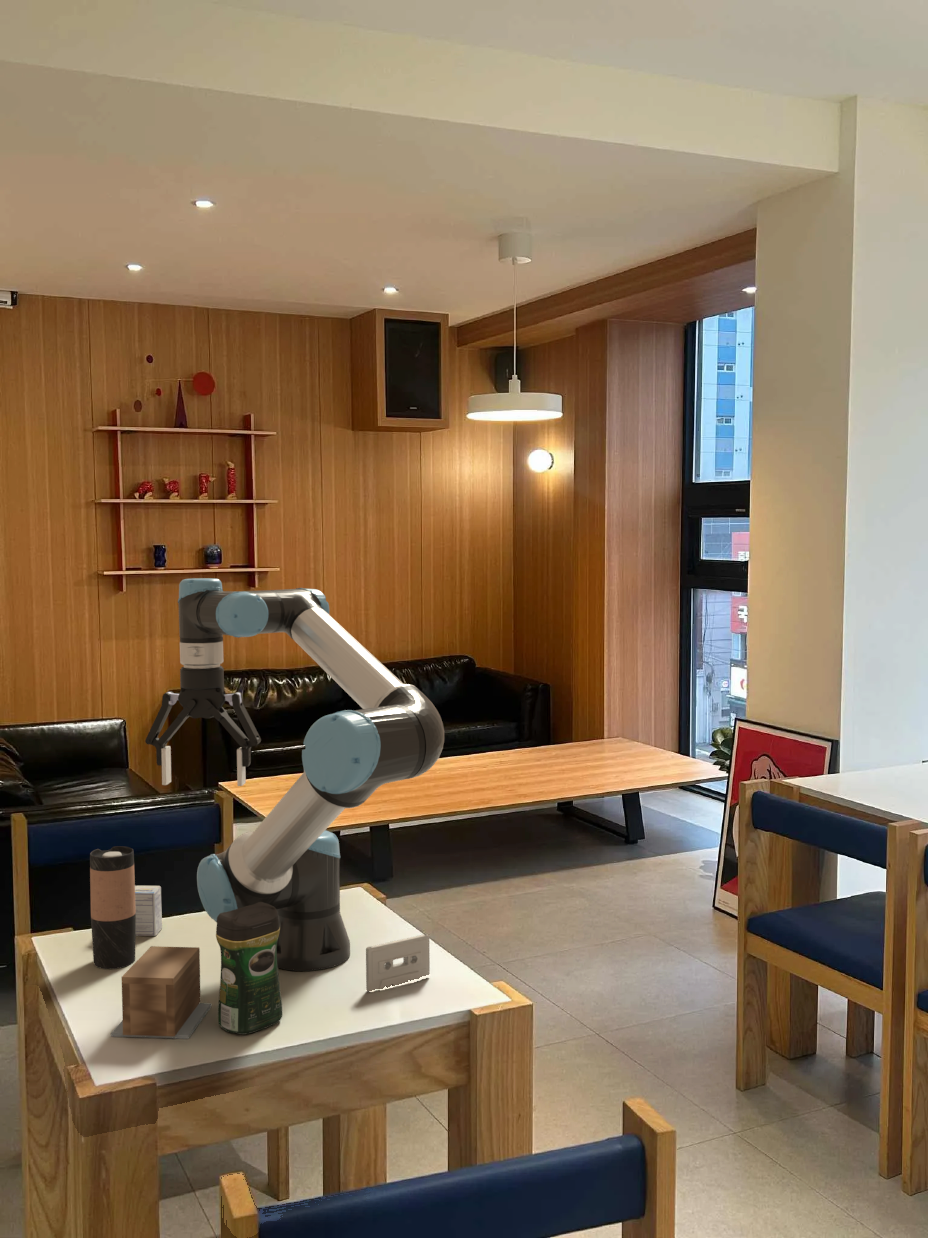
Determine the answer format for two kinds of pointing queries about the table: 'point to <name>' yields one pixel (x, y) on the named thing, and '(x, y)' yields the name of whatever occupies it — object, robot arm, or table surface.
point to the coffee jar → (249, 968)
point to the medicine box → (148, 910)
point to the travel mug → (113, 907)
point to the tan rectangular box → (161, 991)
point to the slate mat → (185, 1029)
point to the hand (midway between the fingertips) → (204, 784)
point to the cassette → (409, 969)
